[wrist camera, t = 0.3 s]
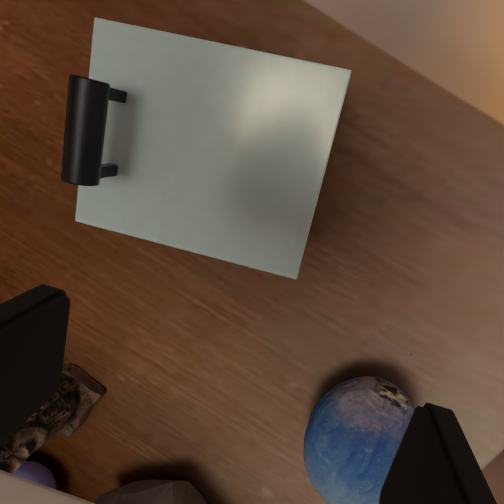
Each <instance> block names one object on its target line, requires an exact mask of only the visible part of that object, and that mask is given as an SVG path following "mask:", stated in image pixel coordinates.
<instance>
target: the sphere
mask: <svg viewBox="0 0 504 504" xmlns="http://www.w3.org/2000/svg"><path fill="white" fill-rule="evenodd" d="M12 474H13V475H16V476H19V477H22V478H25V479H27V480H30V481H33V482H36V483H39V484H41V485H44V486H47V487H50V488H53V489H55V490H56V482H55V479H54V476H53V474H52V473H51V471H50V470H49V469H48V468H47V467H46V466H44V465H43V464H41V463H38V462H34V461H25V462H23V463H22V464H21V465H20V466H19V468H18V469H17V470H16V471H14V472H13V473H12Z"/></svg>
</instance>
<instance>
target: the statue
mask: <svg viewBox="0 0 504 504" xmlns="http://www.w3.org/2000/svg"><path fill="white" fill-rule="evenodd" d="M104 392H105V391H104V389H103V387H102V386H101V385H100V384H98V383H97V382H96V381H94V380H93V379H92V378H91V377H90V376H89V375H88V374H87V373H85V372H84V371H83V370H82V369H80V368H79V367H78V366H76V365H74V364H71V365H68V366H66V367H65V368H64V369H62V376H61V383H60V386H59V388H58V390H57V392H56V393H55V395H54V396H53V397H52V398H50V399H49V400H48V401H47V402H46V403H45V404H44V405H43V406H42V407H41V408H40V409H38V410H37V411H36V412H35V413H34V414H33V415H32V416H31V417H30V418H29V419H28V420H26V421H25V422H24V423H23V424H22V425H21V426H20V427H19V428H18V429H17V430H16V431H14V432H13V433H12V434H11V435H10V436H9V437H8V438H7V439H6V440H5V441H4V442H2V443H1V444H0V470H2V471H5V472H8V473H11V474H12V473H13V472H14V471H16V470H17V469H18V468H19V466H20V465H21V464H22V463H23V462H25V461H26V459H27V458H28V457H29V456H30V455H31V454H32V453H33V452H35V451H36V450H37V449H38V448H40V447H41V446H43V445H44V444H45V443H46V442H48V441H49V440H51V439H52V438H53V437H54V436H55V435H56V434H57V433H58V432H59V431H61V432H62V433H63V434H64V435H67V436H68V435H70V434H71V433H73V432H75V431H76V430H77V428H78V427H79V426H81V425H82V423H83V422H84V421H85V420H86V418H87V416H88V414H89V413H90V411H91V409H92V406H93V405H94V403H96V402H97V401H98V400H99V399H100V398H101V397H102V395H103V394H104Z"/></svg>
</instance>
